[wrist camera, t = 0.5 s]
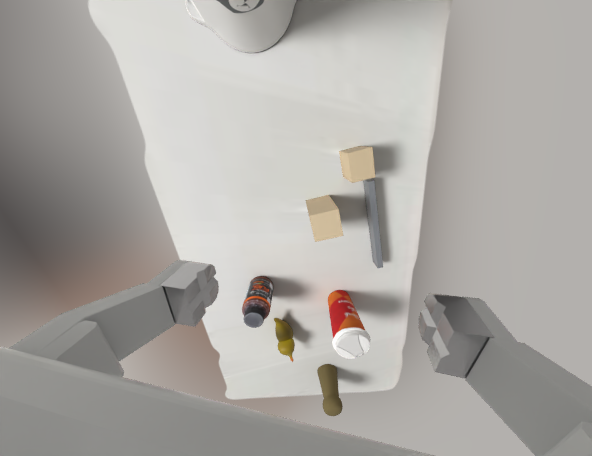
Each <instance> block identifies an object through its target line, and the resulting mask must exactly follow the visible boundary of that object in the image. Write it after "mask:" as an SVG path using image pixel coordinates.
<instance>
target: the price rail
mask: <svg viewBox="0 0 592 456" xmlns="http://www.w3.org/2000/svg"><path fill="white" fill-rule="evenodd" d="M363 182H364V191H365V199H366V207H367V215H368V224H369V232H370V240H371V249H372V257H373V262H374V263H375V265H376V266H377V268H381V267H383V262H382V252H381V242H380V232H379V222H378V212H377V202H376V192H375V182H374V180H372V179H366V180H363Z"/></svg>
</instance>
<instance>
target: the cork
mask: <svg viewBox="0 0 592 456" xmlns="http://www.w3.org/2000/svg"><path fill="white" fill-rule="evenodd" d="M318 376H319V380H320V384H321V388H322V392H323V396H324V400H323V409H324V411H325V413H326V414H327V415H329V416H336V415H338V414H340V413H341V411H342V402H341V400H340V398H339V394H338V379H337V368H336V367H335V366H334V365H331V364H325V365H322V366H320V367H319V368H318Z"/></svg>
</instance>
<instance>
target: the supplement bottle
mask: <svg viewBox="0 0 592 456" xmlns="http://www.w3.org/2000/svg"><path fill="white" fill-rule="evenodd" d="M272 293H273V284H272V282H271V281H270V280H269V279H268V278H266V277H262V276H261V277H256V278H254V279H253V280H252V281H251V282H250V285H249V288H248V291H247V294H246V297H245V300H244V304H243V307H242V312H243V314H244V322H245V324H246V325H247V326H249V327H252V328H256V327H259V326H261V325H262V324H263V321H264V319H265V318H266V317H267V316H268V315H269V312H270V307H271V300H272Z"/></svg>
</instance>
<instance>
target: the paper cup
mask: <svg viewBox="0 0 592 456" xmlns="http://www.w3.org/2000/svg"><path fill="white" fill-rule="evenodd" d="M328 305H329V312H330V319H331V326H332V333H333V347H334V349H335V350H336V351H337V353H338V354H339V355H340V356H341V357H344V358H347V359H355V358H356V357H360V356H362V355H363V354H364V353H365V354H366V353H367V352H368V350H369V348H370V336H369V334H368V333H367V332H366V331H365V329H364V326H363V324H362V322H361V320H360V318H359V316H358V313H357V311H356V309H355V307H354V305H353V303H352V301H351V299H350V297H349V295H348V293H347V292H345V291H343V290H336V291H334V292H332V293H331V294H330V295H329V297H328Z"/></svg>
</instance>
